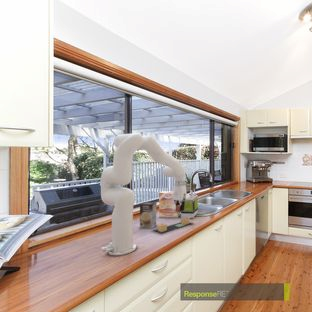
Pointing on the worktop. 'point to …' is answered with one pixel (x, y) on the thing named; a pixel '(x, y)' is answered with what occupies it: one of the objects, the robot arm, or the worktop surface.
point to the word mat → (172, 226)
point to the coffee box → (147, 215)
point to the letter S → (178, 208)
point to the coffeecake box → (167, 205)
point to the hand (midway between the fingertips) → (179, 209)
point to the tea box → (190, 207)
